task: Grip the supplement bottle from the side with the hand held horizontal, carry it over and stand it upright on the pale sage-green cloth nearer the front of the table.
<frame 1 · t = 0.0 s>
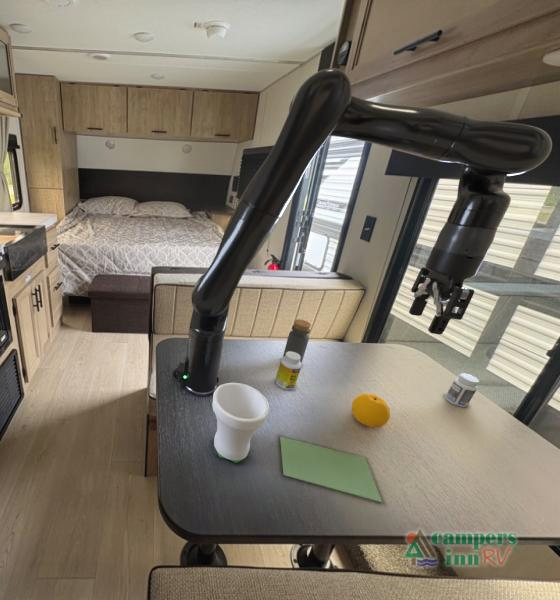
hand: (423, 323, 64), 29 cm above the table, tool pointing down, fingers open, 8 cm apart
cup: (230, 449, 67), on the table
pill bottle: (455, 401, 86), on the table
cloth: (325, 466, 64), on the table
orange fruit: (365, 420, 77), on the table
supplement bottle: (284, 384, 89), on the table
bottle: (291, 363, 99), on the table
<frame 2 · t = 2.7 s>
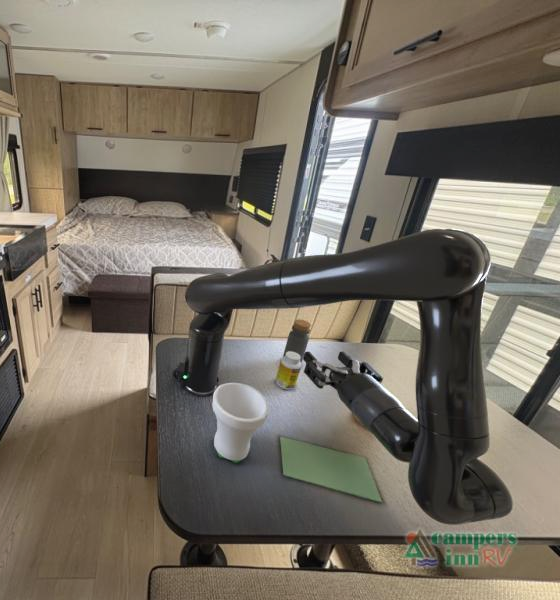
hand: (322, 354, 71), 18 cm above the table, tool horizontal, fingers open, 8 cm apart
nothing on the table moved.
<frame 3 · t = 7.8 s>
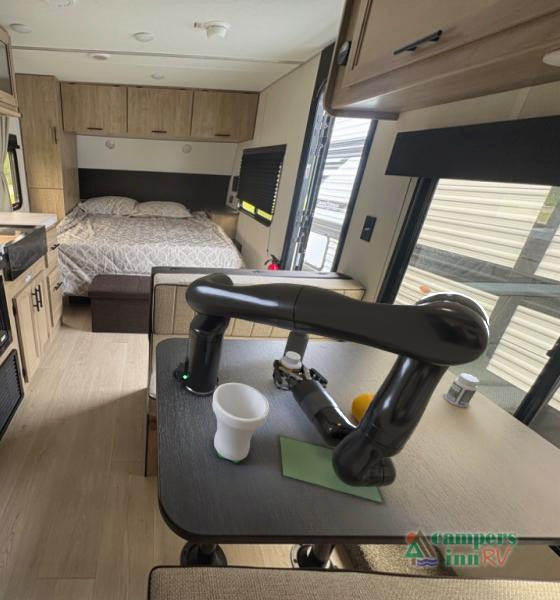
hand: (285, 362, 89), 6 cm above the table, tool horizontal, fingers closed on supplement bottle, 5 cm apart
supplement bottle: (284, 384, 89), on the table, touching gripper
everything else where it was.
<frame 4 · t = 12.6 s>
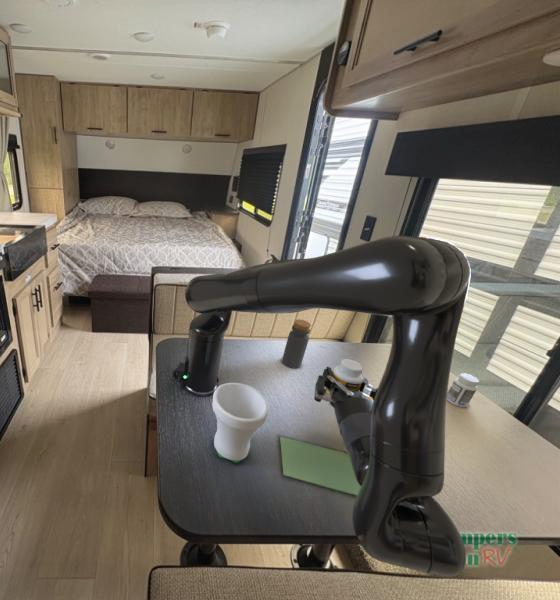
hand: (342, 373, 66), 17 cm above the table, tool horizontal, fingers closed on supplement bottle, 5 cm apart
supplement bottle: (336, 403, 67), point 11 cm above the table, touching gripper
everything else where it was.
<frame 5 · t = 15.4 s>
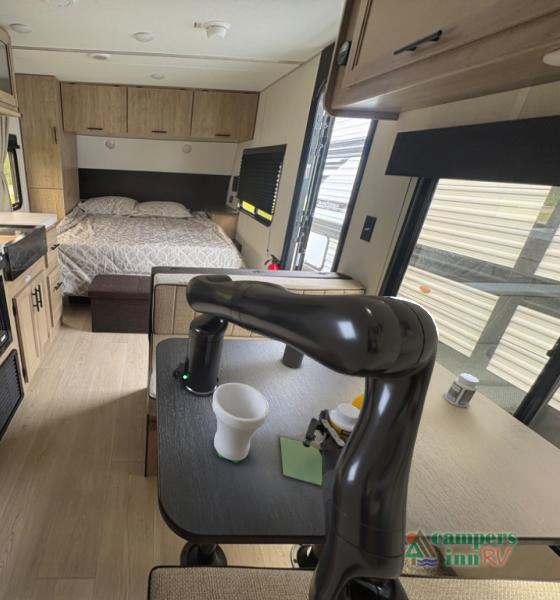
hand: (341, 418, 62), 12 cm above the table, tool horizontal, fingers closed on supplement bottle, 5 cm apart
supplement bottle: (333, 448, 62), point 6 cm above the table, touching gripper
everything else where it was.
when the fingers open (6 cm above the table, at t = 17.5 s): supplement bottle stays where it is, resting on cloth.
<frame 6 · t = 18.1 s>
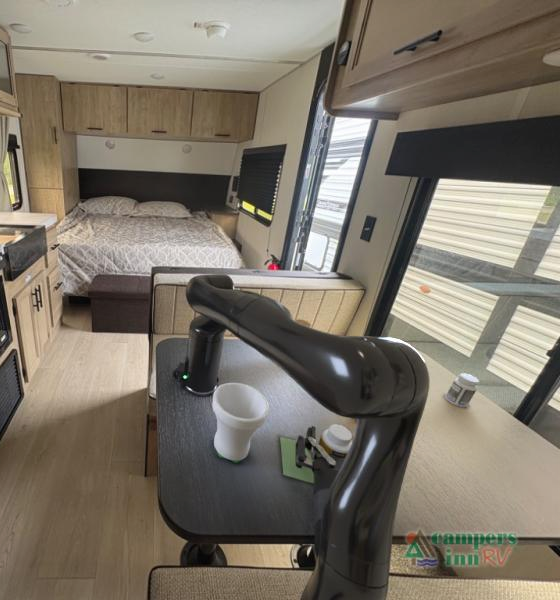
hand: (334, 436, 63), 7 cm above the table, tool horizontal, fingers open, 8 cm apart
supplement bottle: (325, 467, 64), resting on cloth
everything else where it was.
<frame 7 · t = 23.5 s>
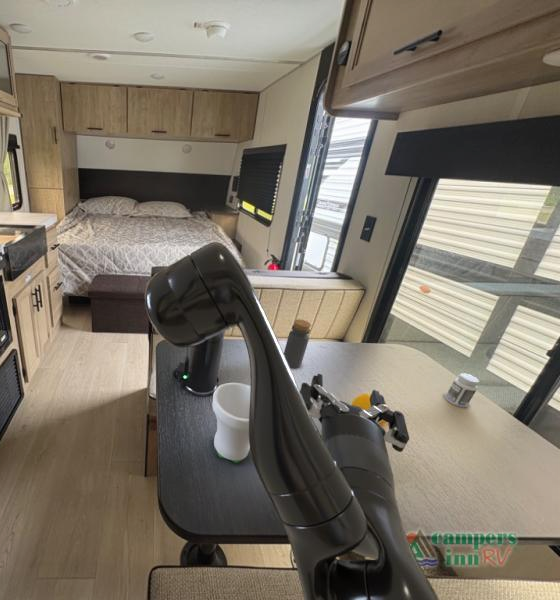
hand: (345, 385, 53), 24 cm above the table, tool horizontal, fingers open, 8 cm apart
nothing on the table moved.
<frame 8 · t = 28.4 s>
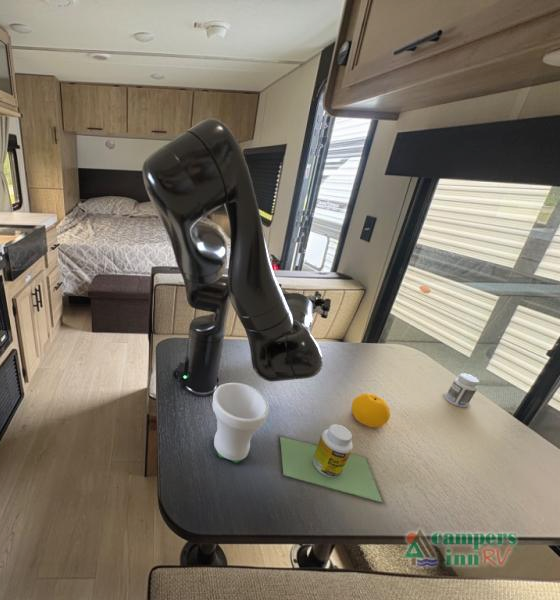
hand: (297, 291, 75), 30 cm above the table, tool horizontal, fingers open, 8 cm apart
nothing on the table moved.
at the end: supplement bottle inside the target area on the cloth (0.1 cm from its centre), point 0.1 cm above the cloth's base; supplement bottle tilted 0°; the gripper is holding nothing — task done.
